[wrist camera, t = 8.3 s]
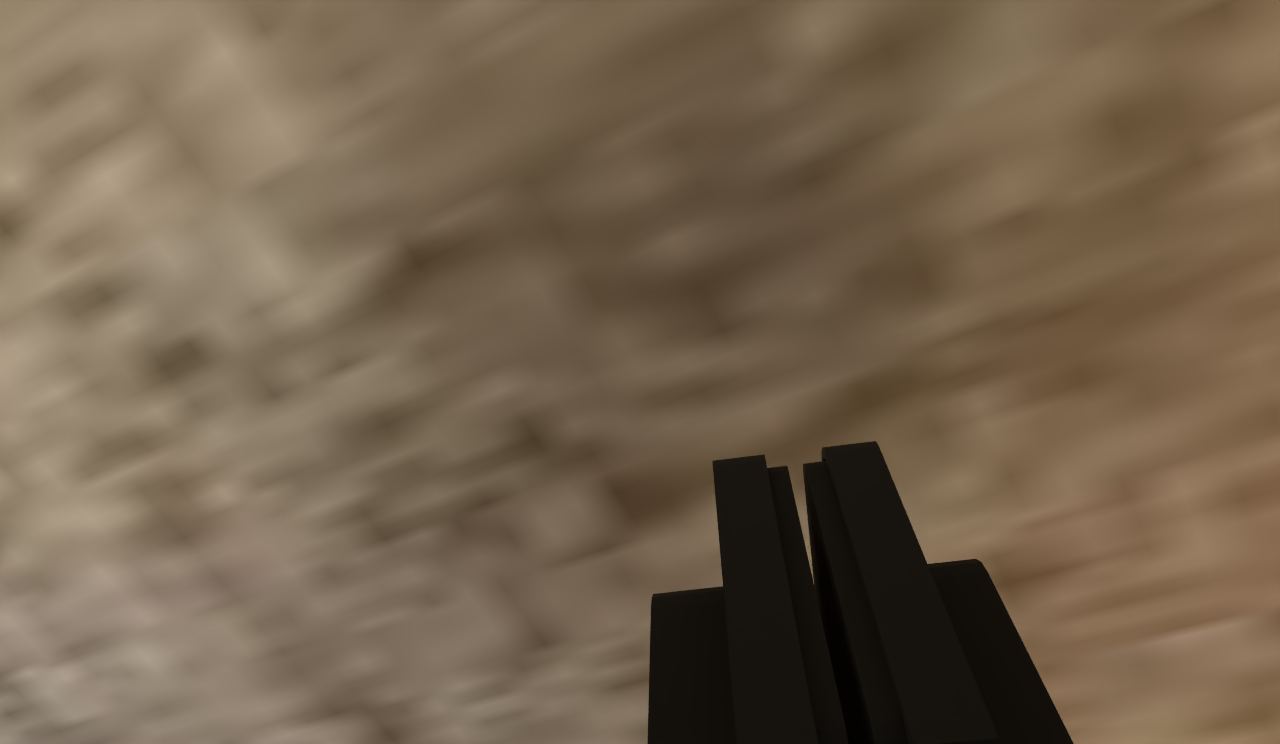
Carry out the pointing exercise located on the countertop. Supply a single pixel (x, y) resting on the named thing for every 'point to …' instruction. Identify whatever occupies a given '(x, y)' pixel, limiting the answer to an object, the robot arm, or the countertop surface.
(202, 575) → the countertop surface
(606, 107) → the countertop surface
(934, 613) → the robot arm
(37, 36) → the countertop surface
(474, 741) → the countertop surface
